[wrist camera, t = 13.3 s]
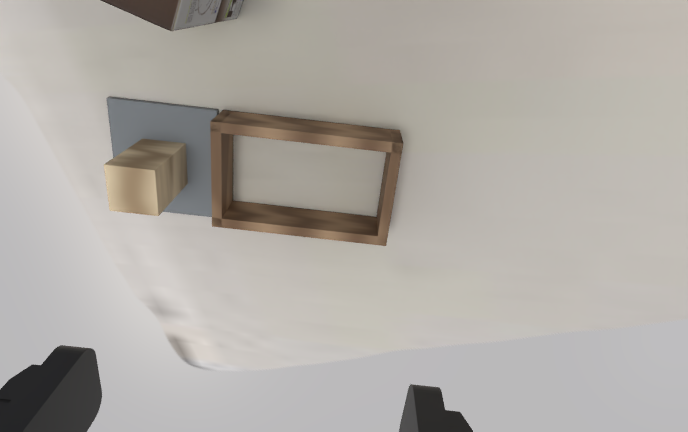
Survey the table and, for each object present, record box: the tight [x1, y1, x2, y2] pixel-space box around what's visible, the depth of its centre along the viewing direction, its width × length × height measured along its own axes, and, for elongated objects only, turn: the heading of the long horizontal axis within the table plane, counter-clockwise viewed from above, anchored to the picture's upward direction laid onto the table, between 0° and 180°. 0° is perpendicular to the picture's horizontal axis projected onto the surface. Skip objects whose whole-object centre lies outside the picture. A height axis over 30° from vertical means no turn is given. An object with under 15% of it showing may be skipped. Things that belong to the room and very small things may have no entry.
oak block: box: [104, 139, 188, 216], centre depth 46 cm, size 4×4×8 cm
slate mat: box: [107, 97, 218, 217], centre depth 50 cm, size 11×12×1 cm
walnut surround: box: [210, 110, 403, 246], centre depth 48 cm, size 18×11×4 cm, turn 84°
